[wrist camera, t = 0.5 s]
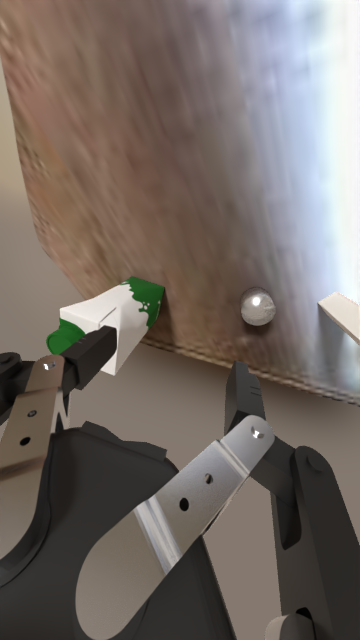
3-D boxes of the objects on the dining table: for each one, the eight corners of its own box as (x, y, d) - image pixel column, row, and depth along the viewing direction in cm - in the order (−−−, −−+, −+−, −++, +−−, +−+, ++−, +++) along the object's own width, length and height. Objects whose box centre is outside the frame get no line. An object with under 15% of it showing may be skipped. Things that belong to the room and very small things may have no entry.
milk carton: (128, 270, 37) (38, 309, 20) (170, 284, 36) (115, 338, 19) (124, 308, 42) (47, 368, 24) (162, 322, 41) (110, 393, 23)
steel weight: (258, 281, 32) (262, 289, 28) (275, 302, 33) (282, 313, 29) (234, 298, 35) (234, 309, 30) (251, 317, 36) (253, 330, 31)
